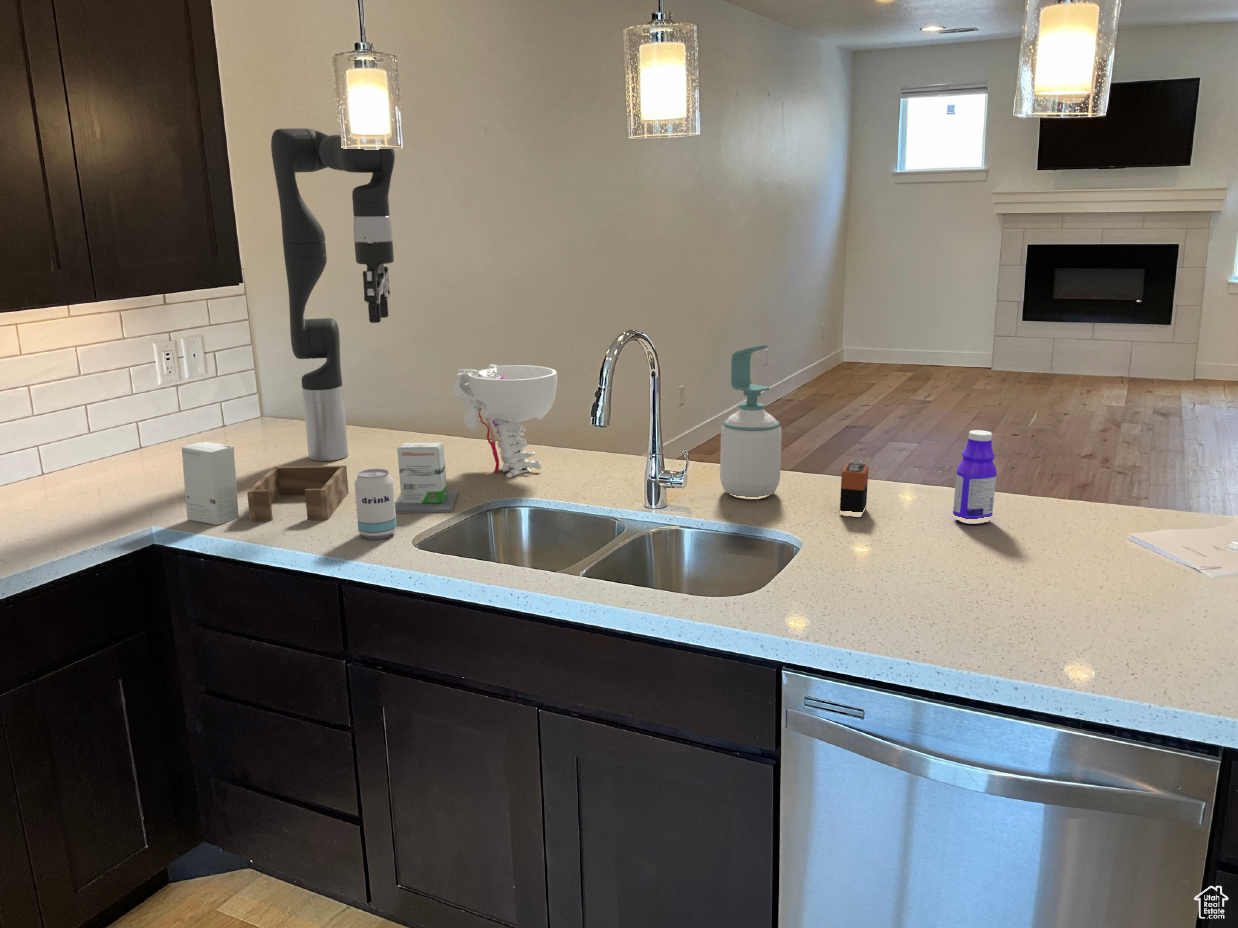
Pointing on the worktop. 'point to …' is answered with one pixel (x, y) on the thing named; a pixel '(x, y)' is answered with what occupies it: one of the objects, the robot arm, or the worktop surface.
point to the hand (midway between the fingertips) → (379, 320)
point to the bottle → (976, 478)
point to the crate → (300, 490)
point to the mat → (427, 505)
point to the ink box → (422, 473)
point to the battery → (854, 486)
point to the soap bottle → (749, 438)
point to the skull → (507, 407)
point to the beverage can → (375, 503)
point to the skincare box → (210, 482)
